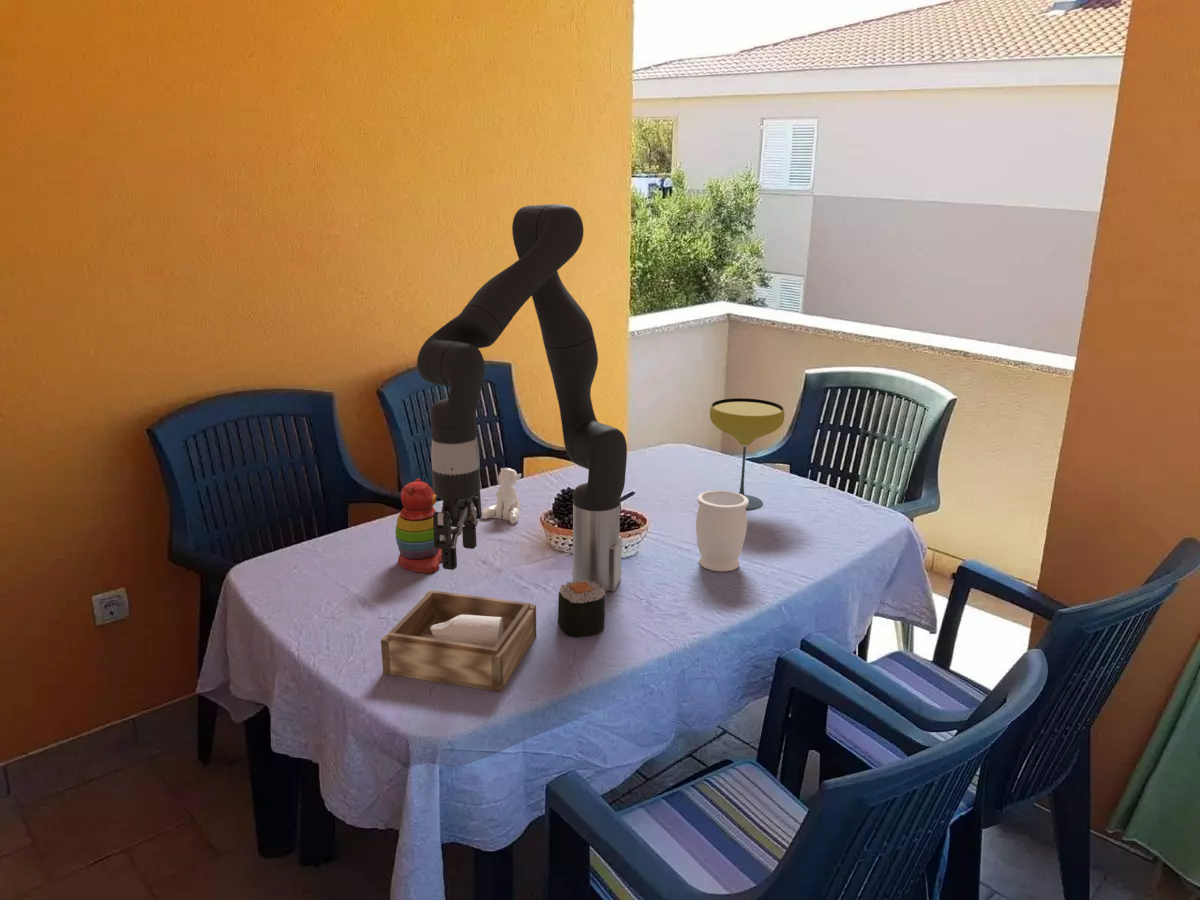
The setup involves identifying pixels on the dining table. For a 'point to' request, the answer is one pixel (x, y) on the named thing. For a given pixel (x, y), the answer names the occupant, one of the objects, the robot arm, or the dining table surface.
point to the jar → (721, 529)
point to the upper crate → (450, 605)
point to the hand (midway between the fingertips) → (460, 557)
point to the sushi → (581, 608)
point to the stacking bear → (417, 529)
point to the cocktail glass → (747, 426)
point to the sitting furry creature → (505, 498)
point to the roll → (470, 630)
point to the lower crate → (460, 659)
